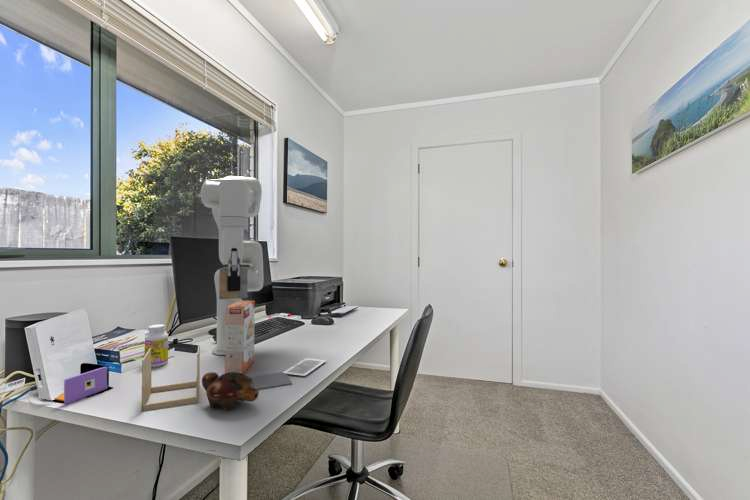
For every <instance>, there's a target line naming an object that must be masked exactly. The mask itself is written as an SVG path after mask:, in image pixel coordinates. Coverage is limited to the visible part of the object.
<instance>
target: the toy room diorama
mask: <svg viewBox="0 0 750 500" xmlns="http://www.w3.org/2000/svg"><path fill="white" fill-rule="evenodd" d="M79 373H80V374H77V375H74V376H70V377H67V378H65V379H64V382H63V383H64V384H63V385H64V386H63V389H64V393H63V394H62V395H60V396H59V397H57V398H55V400H53V401H51V402H52V403H53V402H54V403H57V404H58V403H59V404H64V405H65V404H67V405H68V404H71V403H73V402H77V401H79V400H82V399H84V398H85V399H87V398H91V397H94V396H97V395H100V394H103V393H106V392H108V391H111V390H113V389H114V387H113V386H110V384H109V383H110V369H109V366H108V365H103V364H96V363H89V362H88V363H87V362H82V363H81V364H80V371H79Z"/></svg>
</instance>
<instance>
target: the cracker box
mask: <svg viewBox="0 0 750 500" xmlns="http://www.w3.org/2000/svg"><path fill="white" fill-rule="evenodd" d="M255 304H256V301H255V300H242V301H237V302H236V303H234V304H231V305H229V306H228V307H226V348H225V355H224V357H225V358H224V359H225V360H224V361H225V363H224V364H225V365H224V374H225V373H230V372H237V373H241V374H244V375H245V372H246V371H247V370H248V369H249V367H250V366H251V364H253V362H254V361H255V315H256V314H255V312H256V307H255Z"/></svg>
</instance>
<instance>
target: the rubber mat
mask: <svg viewBox="0 0 750 500" xmlns="http://www.w3.org/2000/svg"><path fill="white" fill-rule="evenodd" d="M283 372H284V371H280V372H274V373H267V374H259V375H253V376H252V375H251V376H250V379H251V381H252V387H253V388H255V389H257V390H258V391H260V390H264V389H271V388H278V387H283V386H288V385H292V384H293V382H292V381H291V379H290V377H289V376H288V374H286V373H283Z"/></svg>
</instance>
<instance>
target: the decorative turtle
mask: <svg viewBox="0 0 750 500" xmlns="http://www.w3.org/2000/svg"><path fill="white" fill-rule="evenodd" d="M201 385H202V387H203V389H204V391H205V395H206V398H207V400H208V404H209V406H210V408H211V409H213V410H217V409H218V408H219V407H220V406H222V408H223V409H224V410H226V411H227V412H230V411H232V410H233V409H234V407H235V405H236V404H237V402H238V401H240V402H255V401H256V400H257V399H258V397H259V392H260V390H257V389H255V388H254V386H253V383H252V380H251V377H249V376H248V375H246V374H245V373H244V374H241V373H237V372H230V373H225V372H224V373H223V374H221V375H219V373H217V372H213V371H211V372H209V371H208V372H207V373H205V374H203V377H202V378H201Z"/></svg>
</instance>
